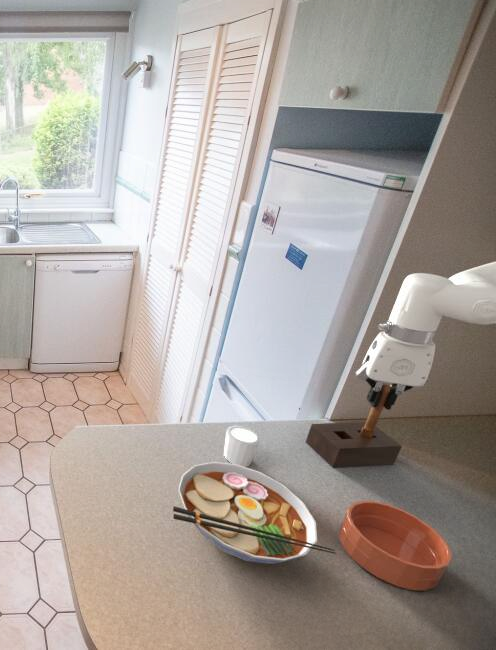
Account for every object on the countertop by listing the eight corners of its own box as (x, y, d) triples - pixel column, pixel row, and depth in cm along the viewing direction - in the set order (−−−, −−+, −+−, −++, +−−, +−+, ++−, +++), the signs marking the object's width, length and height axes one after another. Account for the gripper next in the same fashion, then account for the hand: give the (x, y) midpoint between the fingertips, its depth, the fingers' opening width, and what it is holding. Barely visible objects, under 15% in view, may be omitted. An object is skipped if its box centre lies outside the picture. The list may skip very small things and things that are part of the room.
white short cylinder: (224, 466, 104) (230, 441, 101) (217, 446, 110) (223, 423, 107) (257, 471, 102) (264, 446, 99) (248, 450, 108) (255, 427, 105)
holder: (305, 442, 111) (311, 423, 109) (362, 439, 112) (369, 421, 110) (332, 467, 103) (340, 448, 101) (393, 464, 104) (402, 445, 101)
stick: (368, 442, 106) (392, 383, 100) (369, 446, 105) (394, 387, 99) (356, 439, 107) (379, 381, 101) (358, 443, 106) (381, 385, 100)
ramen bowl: (295, 506, 93) (306, 475, 90) (331, 611, 73) (347, 577, 70) (165, 476, 101) (171, 446, 98) (166, 564, 81) (174, 531, 78)
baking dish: (414, 536, 86) (426, 512, 84) (455, 604, 74) (470, 579, 72) (328, 515, 91) (337, 492, 88) (353, 577, 79) (364, 552, 76)
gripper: (370, 333, 94) (342, 407, 101) (466, 346, 89) (430, 422, 96) (357, 319, 101) (331, 389, 108) (446, 330, 96) (413, 403, 103)
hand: (378, 404), depth 102 cm, fingers closed on stick, 1 cm apart
